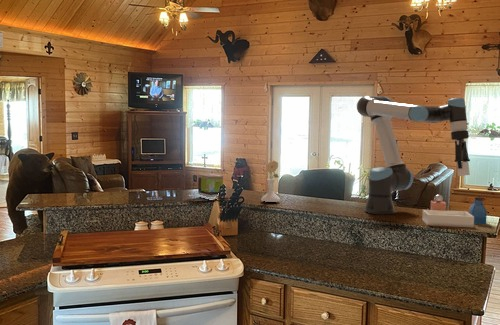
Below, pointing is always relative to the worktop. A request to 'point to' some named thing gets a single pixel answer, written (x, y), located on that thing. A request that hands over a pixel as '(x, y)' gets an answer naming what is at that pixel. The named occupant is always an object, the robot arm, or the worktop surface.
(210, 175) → the tea box
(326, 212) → the worktop surface
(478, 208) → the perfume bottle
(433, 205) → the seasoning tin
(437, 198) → the mixing ball
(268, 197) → the flower in vase
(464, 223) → the tray
